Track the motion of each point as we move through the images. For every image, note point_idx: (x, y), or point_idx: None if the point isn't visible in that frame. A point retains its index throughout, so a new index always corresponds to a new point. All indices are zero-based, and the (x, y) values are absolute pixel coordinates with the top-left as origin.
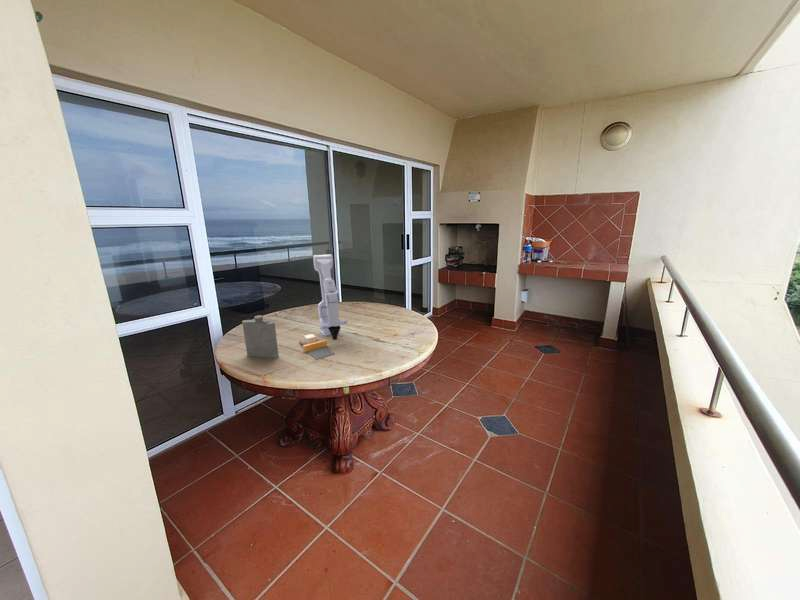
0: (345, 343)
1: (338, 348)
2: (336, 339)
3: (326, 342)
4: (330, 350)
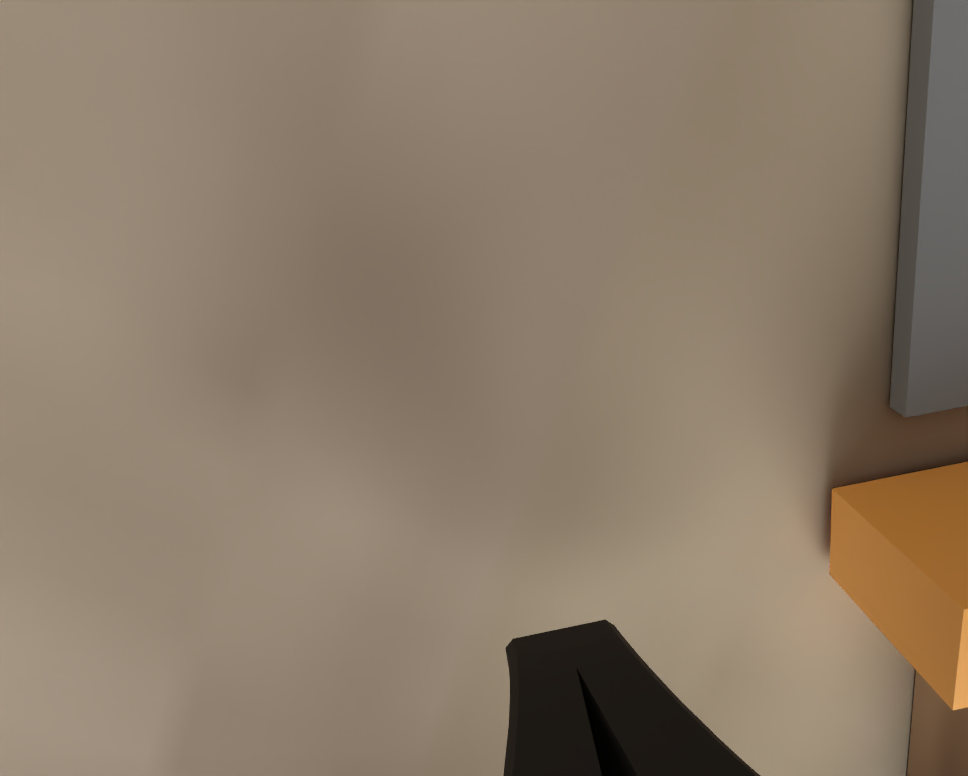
0: (192, 447)
1: (577, 127)
2: (523, 642)
3: (928, 558)
4: (948, 23)
